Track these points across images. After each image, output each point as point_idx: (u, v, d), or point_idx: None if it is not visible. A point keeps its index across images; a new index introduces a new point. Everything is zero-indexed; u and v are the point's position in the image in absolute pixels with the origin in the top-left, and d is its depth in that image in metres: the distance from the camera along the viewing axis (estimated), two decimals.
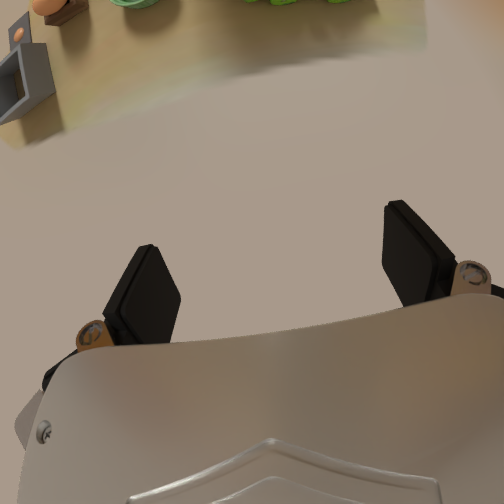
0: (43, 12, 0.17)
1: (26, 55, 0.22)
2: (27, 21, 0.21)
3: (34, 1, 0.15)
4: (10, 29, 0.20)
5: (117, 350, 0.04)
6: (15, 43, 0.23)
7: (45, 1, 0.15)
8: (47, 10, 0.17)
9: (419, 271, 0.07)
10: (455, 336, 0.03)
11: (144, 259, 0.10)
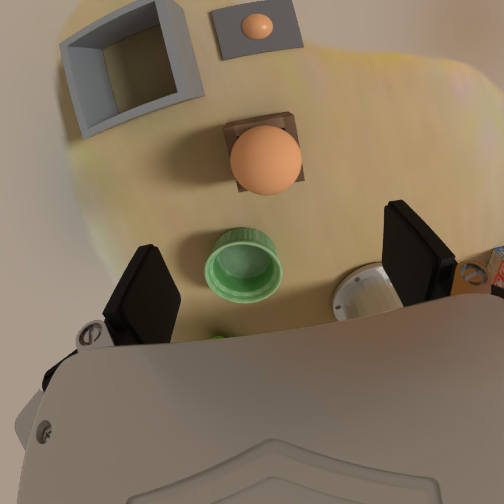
0: (232, 161, 0.21)
1: (163, 107, 0.20)
2: (279, 44, 0.21)
3: (263, 154, 0.20)
4: (286, 3, 0.18)
5: (117, 350, 0.04)
6: (244, 16, 0.20)
7: (247, 181, 0.21)
8: (233, 169, 0.22)
9: (419, 271, 0.07)
10: (455, 336, 0.03)
11: (144, 259, 0.10)
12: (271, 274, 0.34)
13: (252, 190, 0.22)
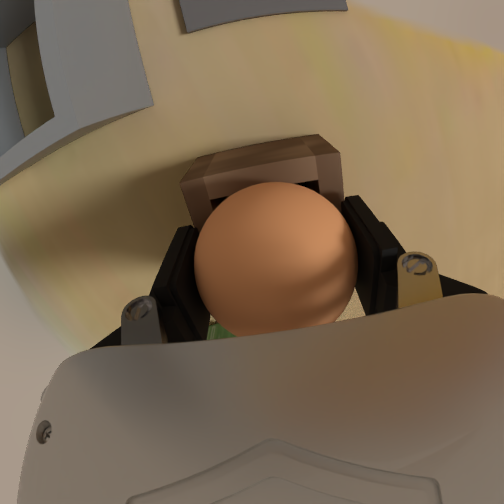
0: (196, 280, 0.09)
1: (48, 148, 0.08)
2: (300, 2, 0.09)
3: (274, 291, 0.07)
4: None
5: (117, 350, 0.04)
6: None
7: (233, 334, 0.09)
8: (200, 292, 0.10)
9: (366, 262, 0.08)
10: (455, 336, 0.03)
11: (186, 238, 0.10)
12: None
13: None
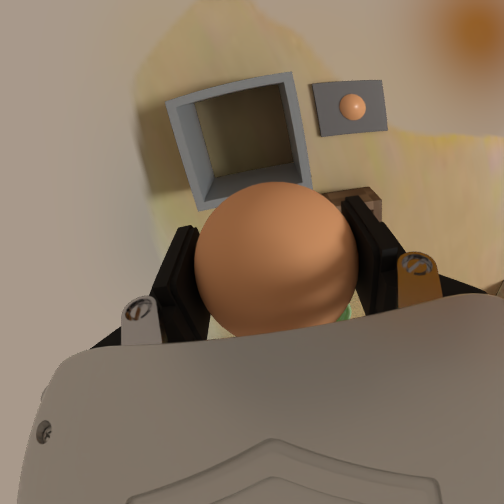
0: (196, 281, 0.09)
1: None
2: (368, 126, 0.27)
3: (274, 291, 0.07)
4: (377, 85, 0.24)
5: (117, 350, 0.04)
6: (341, 93, 0.25)
7: (234, 334, 0.09)
8: None
9: (366, 262, 0.08)
10: (455, 336, 0.03)
11: (187, 238, 0.10)
12: None
13: None
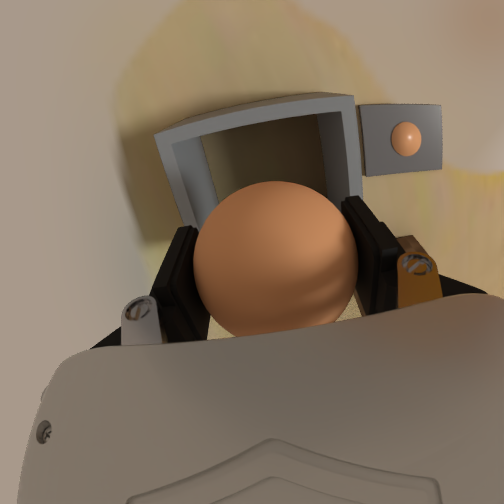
0: (195, 280, 0.09)
1: None
2: (421, 163, 0.20)
3: (273, 290, 0.07)
4: (436, 112, 0.17)
5: (117, 350, 0.04)
6: (393, 120, 0.18)
7: (233, 334, 0.09)
8: None
9: (366, 262, 0.08)
10: (455, 336, 0.03)
11: (187, 238, 0.10)
12: None
13: None
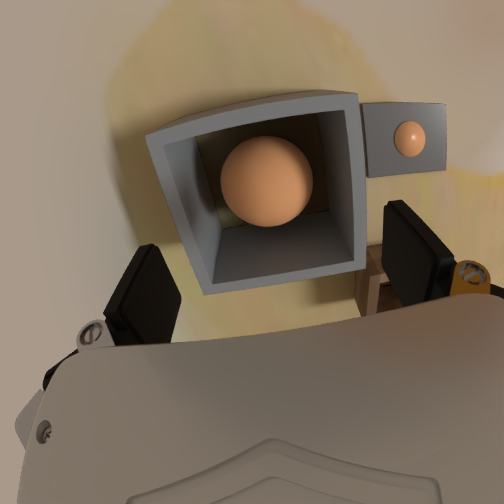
0: (222, 184, 0.17)
1: None
2: (424, 164, 0.19)
3: (264, 177, 0.15)
4: (440, 111, 0.16)
5: (117, 350, 0.04)
6: (396, 119, 0.17)
7: (243, 211, 0.16)
8: (224, 194, 0.17)
9: (418, 271, 0.07)
10: (455, 336, 0.03)
11: (145, 259, 0.10)
12: None
13: (249, 222, 0.17)
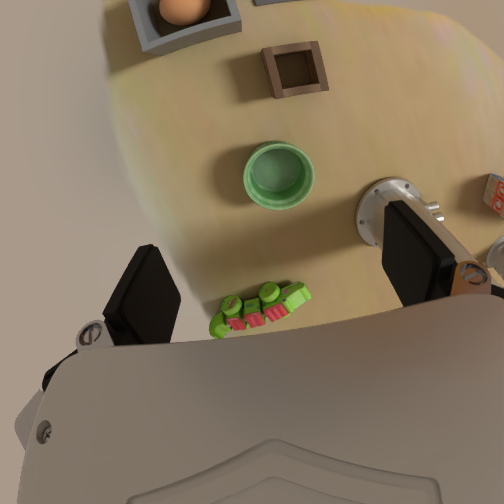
0: (159, 5, 0.20)
1: (217, 28, 0.21)
2: None
3: None
4: None
5: (117, 350, 0.04)
6: None
7: (167, 9, 0.20)
8: (160, 10, 0.20)
9: (419, 271, 0.07)
10: (455, 336, 0.03)
11: (144, 259, 0.10)
12: (302, 182, 0.36)
13: (171, 16, 0.21)
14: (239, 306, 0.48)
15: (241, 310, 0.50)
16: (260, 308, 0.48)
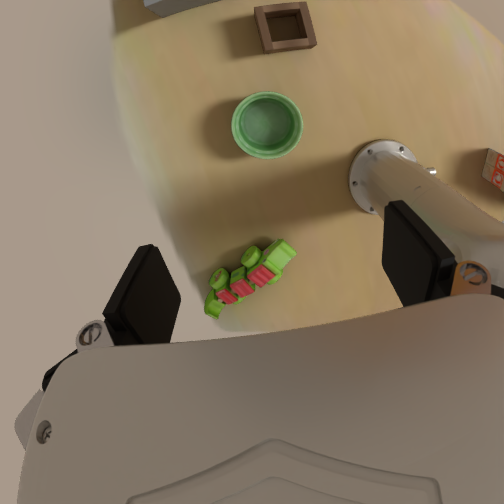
0: None
1: None
2: None
3: None
4: None
5: (117, 350, 0.04)
6: None
7: None
8: None
9: (419, 271, 0.07)
10: (455, 336, 0.03)
11: (144, 259, 0.10)
12: (291, 133, 0.34)
13: None
14: (225, 277, 0.47)
15: (230, 282, 0.48)
16: (245, 275, 0.46)
